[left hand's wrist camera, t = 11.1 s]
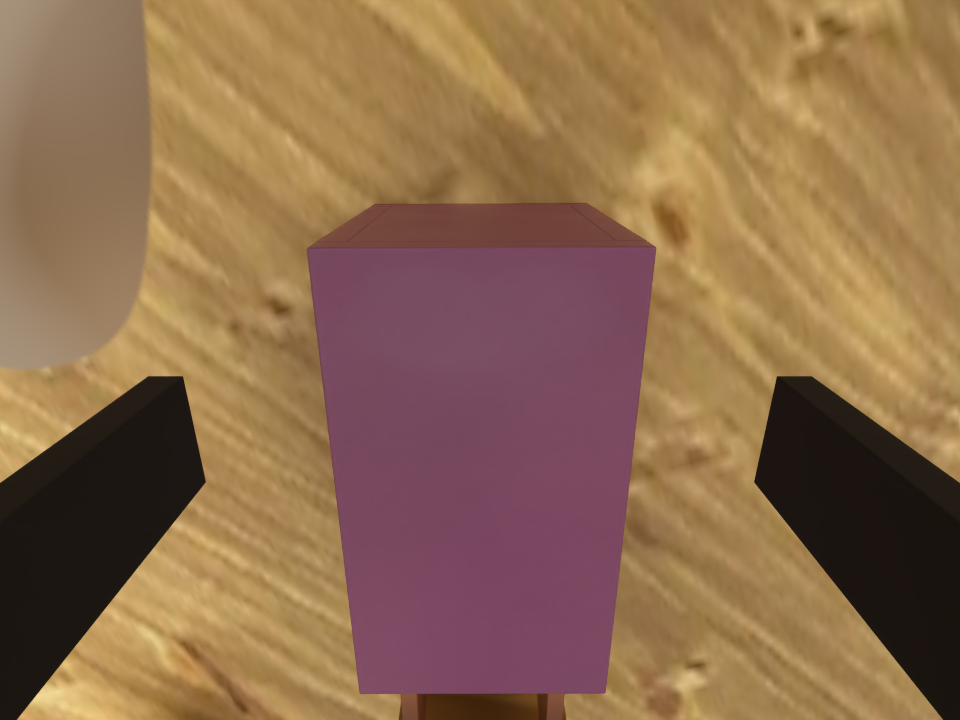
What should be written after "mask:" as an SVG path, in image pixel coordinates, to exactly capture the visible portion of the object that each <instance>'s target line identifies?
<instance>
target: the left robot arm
mask: <svg viewBox="0 0 960 720" xmlns="http://www.w3.org/2000/svg"><path fill="white" fill-rule="evenodd" d="M205 482H206V481H205V476H204V472H203V467H202V462H201V458H200V453H199V448H198V444H197V439H196V435H195V430H194V425H193V421H192V416H191V411H190V407H189V402H188V398H187V393H186V388H185V384H184V379H183V376H148V377H147V378H145V379H144V380H143V381H141V382H140V383H138V384H137V385H136V386H134V387H133V388H132V389H130V390H129V391H127V392H126V393H125V394H123V395H122V396H120V397H119V398H118V399H116V400H115V401H113V402H112V403H111V404H109V405H108V406H107V407H105V408H104V409H102V410H101V411H100V412H98V413H97V414H95V415H94V416H93V417H91V418H90V419H88V420H87V421H86V422H84V423H83V424H82V425H80V426H79V427H77V428H76V429H75V430H73V431H72V432H70V433H69V434H68V435H66V436H65V437H63V438H62V439H61V440H59V441H58V442H57V443H55V444H54V445H52V446H51V447H50V448H48V449H47V450H45V451H44V452H43V453H41V454H40V455H39V456H37V457H36V458H34V459H33V460H32V461H30V462H29V463H27V464H26V465H25V466H23V467H22V468H20V469H19V470H18V471H16V472H15V473H14V474H12V475H11V476H9V477H8V478H7V479H5V480H4V481H2V482H1V483H0V720H17V719H18V718H19V716H20V715H21V714H22V712H23V711H24V710H25V709H26V707H27V706H28V705H29V704H30V702H31V701H32V700H33V699H34V697H35V696H36V695H37V694H38V692H39V691H40V690H41V689H42V687H43V686H44V685H45V684H46V682H47V681H48V680H49V679H50V677H51V676H52V675H53V674H54V672H55V671H56V670H57V668H58V667H59V666H60V665H61V663H62V662H63V661H64V660H65V658H66V657H67V656H68V655H69V653H70V652H71V651H72V650H73V648H74V647H75V646H76V645H77V643H78V642H79V641H80V640H81V638H82V637H83V636H84V635H85V633H86V632H87V631H88V630H89V628H90V627H91V626H92V625H93V623H94V622H95V621H96V619H97V618H98V617H99V616H100V614H101V613H102V612H103V611H104V609H105V608H106V607H107V606H108V604H109V603H110V602H111V601H112V599H113V598H114V597H115V596H116V594H117V593H118V592H119V591H120V589H121V588H122V587H123V586H124V584H125V583H126V582H127V581H128V579H129V578H130V577H131V575H132V574H133V573H134V572H135V570H136V569H137V568H138V567H139V565H140V564H141V563H142V562H143V560H144V559H145V558H146V557H147V555H148V554H149V553H150V552H151V550H152V549H153V548H154V547H155V545H156V544H157V543H158V542H159V540H160V539H161V538H162V537H163V535H164V534H165V533H166V531H167V530H168V529H169V528H170V526H171V525H172V524H173V523H174V521H175V520H176V519H177V518H178V516H179V515H180V514H181V513H182V511H183V510H184V509H185V508H186V506H187V505H188V504H189V503H190V501H191V500H192V499H193V498H194V496H195V495H196V494H197V493H198V491H199V490H200V489H201V488H202V486H203V485H204V484H205ZM754 482H755V484H756V485H757V486H758V488H759V489H760V490H761V491H762V493H763V494H764V495H765V496H766V498H767V499H768V500H769V501H770V503H771V504H772V505H773V506H774V508H775V509H776V510H777V511H778V513H779V514H780V515H781V516H782V518H783V519H784V520H785V521H786V523H787V524H788V525H789V526H790V528H791V529H792V530H793V532H794V533H795V534H796V535H797V537H798V538H799V539H800V540H801V542H802V543H803V544H804V545H805V547H806V548H807V549H808V550H809V552H810V553H811V554H812V555H813V557H814V558H815V559H816V560H817V562H818V563H819V564H820V565H821V567H822V568H823V569H824V570H825V572H826V573H827V574H828V575H829V577H830V578H831V579H832V581H833V582H834V583H835V584H836V586H837V587H838V588H839V589H840V591H841V592H842V593H843V594H844V596H845V597H846V598H847V599H848V601H849V602H850V603H851V604H852V606H853V607H854V608H855V609H856V611H857V612H858V613H859V614H860V616H861V617H862V618H863V619H864V621H865V622H866V623H867V625H868V626H869V627H870V628H871V630H872V631H873V632H874V633H875V635H876V636H877V637H878V638H879V640H880V641H881V642H882V643H883V645H884V646H885V647H886V648H887V650H888V651H889V652H890V653H891V655H892V656H893V657H894V658H895V660H896V661H897V662H898V663H899V665H900V666H901V667H902V668H903V670H904V671H905V672H906V674H907V675H908V676H909V677H910V679H911V680H912V681H913V682H914V684H915V685H916V686H917V687H918V689H919V690H920V691H921V692H922V694H923V695H924V696H925V697H926V699H927V700H928V701H929V702H930V704H931V705H932V706H933V707H934V709H935V710H936V711H937V712H938V714H939V715H940V716H941V718H942V719H943V720H960V483H959V482H958V481H956V480H955V479H953V478H952V477H951V476H949V475H948V474H946V473H945V472H944V471H942V470H941V469H940V468H938V467H937V466H935V465H934V464H933V463H931V462H930V461H928V460H927V459H926V458H924V457H923V456H921V455H920V454H919V453H917V452H916V451H915V450H913V449H912V448H910V447H909V446H908V445H906V444H905V443H903V442H902V441H901V440H899V439H898V438H897V437H895V436H894V435H892V434H891V433H890V432H888V431H887V430H885V429H884V428H883V427H881V426H880V425H878V424H877V423H876V422H874V421H873V420H872V419H870V418H869V417H867V416H866V415H865V414H863V413H862V412H860V411H859V410H858V409H856V408H855V407H853V406H852V405H851V404H849V403H848V402H847V401H845V400H844V399H842V398H841V397H840V396H838V395H837V394H835V393H834V392H833V391H831V390H830V389H828V388H827V387H826V386H824V385H823V384H822V383H820V382H819V381H817V380H816V379H815V378H813V377H812V376H777V379H776V384H775V388H774V393H773V398H772V402H771V407H770V411H769V416H768V421H767V425H766V430H765V435H764V439H763V444H762V448H761V453H760V458H759V462H758V467H757V472H756V476H755V481H754Z"/></svg>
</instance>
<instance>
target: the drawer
mask: <svg viewBox="0 0 960 720" xmlns="http://www.w3.org/2000/svg"><path fill="white" fill-rule="evenodd" d="M399 720H566V714H565V707H564V693H558V694H401V707H400V714H399Z"/></svg>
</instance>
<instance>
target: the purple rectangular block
mask: <svg viewBox="0 0 960 720" xmlns="http://www.w3.org/2000/svg"><path fill="white" fill-rule="evenodd" d="M655 254H656V247H655V246H653V245H652V244H650V243H649V242H647V241H646V240H644V239H643V238H641V237H640V236H638V235H636V234H635V233H633V232H632V231H630V230H629V229H627V228H625V227H624V226H622V225H621V224H619V223H617V222H616V221H614V220H613V219H611V218H609V217H608V216H606V215H605V214H603V213H601V212H600V211H598V210H597V209H595V208H593V207H592V206H590V205H589V204H587V203H578V204H375V205H373V206H371V207H370V208H368V209H367V210H365V211H364V212H362V213H361V214H359V215H357V216H356V217H354V218H353V219H351V220H350V221H348V222H347V223H345V224H343V225H342V226H340V227H339V228H337V229H336V230H334V231H333V232H331V233H329V234H328V235H326V236H325V237H323V238H322V239H320V240H319V241H317V242H316V243H314V244H313V245H311V246H310V247H308V248H307V255H308V263H309V272H310V280H311V289H312V297H313V305H314V314H315V322H316V330H317V339H318V347H319V356H320V364H321V372H322V381H323V389H324V398H325V406H326V414H327V423H328V431H329V440H330V448H331V456H332V465H333V473H334V482H335V490H336V498H337V507H338V515H339V524H340V532H341V540H342V549H343V557H344V566H345V574H346V582H347V591H348V599H349V607H350V616H351V624H352V633H353V641H354V649H355V658H356V666H357V675H358V683H359V691H360V694H558V693H605V691H606V683H607V674H608V665H609V657H610V648H611V639H612V630H613V622H614V613H615V604H616V595H617V587H618V578H619V569H620V560H621V552H622V543H623V534H624V525H625V517H626V508H627V499H628V490H629V482H630V473H631V464H632V455H633V447H634V438H635V429H636V420H637V412H638V403H639V394H640V385H641V377H642V368H643V359H644V350H645V342H646V333H647V324H648V315H649V307H650V298H651V289H652V280H653V272H654V263H655Z"/></svg>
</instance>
